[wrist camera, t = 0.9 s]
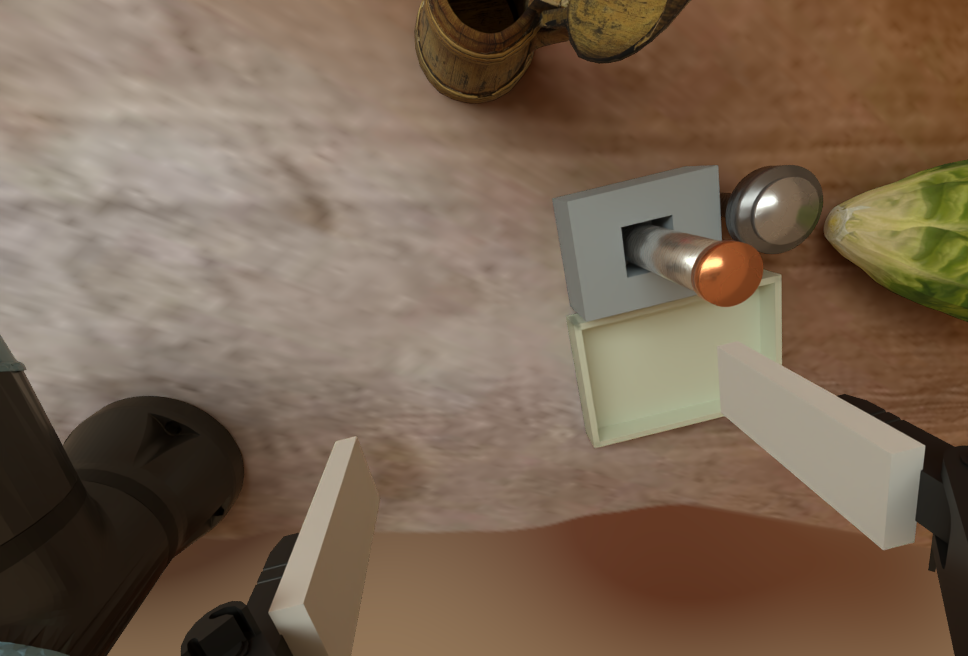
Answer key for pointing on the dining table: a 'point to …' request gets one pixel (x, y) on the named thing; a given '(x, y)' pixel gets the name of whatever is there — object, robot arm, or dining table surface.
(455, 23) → the wooden mug
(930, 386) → the dining table surface
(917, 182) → the lettuce
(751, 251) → the pin
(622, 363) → the tray
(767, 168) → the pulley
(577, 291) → the block
